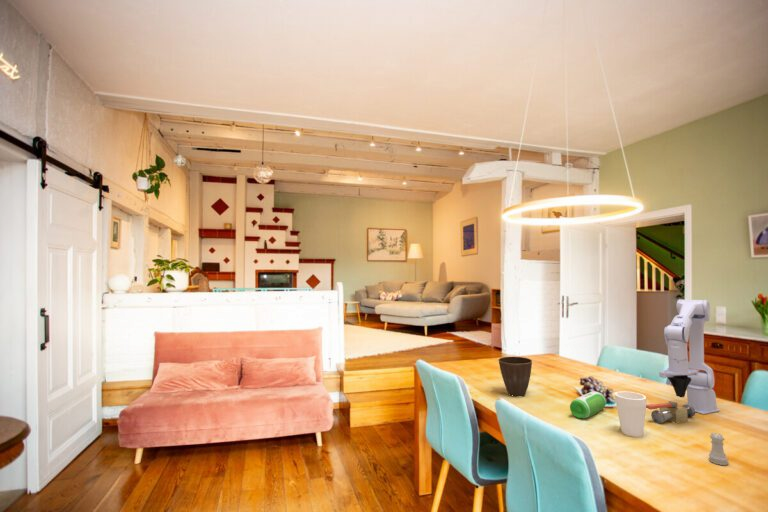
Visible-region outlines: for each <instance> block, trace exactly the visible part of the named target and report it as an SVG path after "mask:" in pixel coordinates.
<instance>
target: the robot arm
mask: <svg viewBox="0 0 768 512" xmlns="http://www.w3.org/2000/svg"><path fill="white" fill-rule="evenodd" d="M676 312H677V313H678V314H677V315H675V316H674V317H673V318H672V321H671V323H670V324H669V325H667V326H665V327H664V330H663V335H664V336H663V337H664V340H665V346H667V360H668V368H667V369H666V370H661V371H659V372H658V377H659V378H662V379H668V380H669V382H670V384H671V385H672V387H673V389H674V392H675V395H676V396H677V397H679V398H685V396H686V398H687V399H686V400H687V404H688V405H691V406H692V407H693V408H694V410H695V413H698V414H701V415H706V414H711V413H716V412H720V409H719V408H717V395H716V392H715V390H714V389H713V388H714V386H715V375H714V370H713V369H712V368H711V366H709V365H708V364H707V363H705V346H704V345H705V336H704V335H705V334H704V332H705V331H704V330H705V329H704V328H705V323H706V322H709V321H710V318H711V306H710V302H709V301H708V300H707V299H704V300H703V299H681V298H680V299H678V300H677V301H676ZM688 342H689V347H688V344H687V343H688ZM688 348H689V352H688ZM688 353H689V354H688ZM688 355H689V357H688Z"/></svg>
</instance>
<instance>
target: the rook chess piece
mask: <svg viewBox="0 0 768 512" xmlns="http://www.w3.org/2000/svg"><path fill="white" fill-rule="evenodd" d="M709 437H710V439H711V441H710V443H711V451H710V453H709V454H708V460H709V461H710V462H711V463H712V462H713V463H712V464H714V463H716V464H715V465H718V464H720V465H719V466H727V465H728V464H729V461H728V460H729V459H728V457H727V456H726V453H725V451H724V443H723V441H724V440H725V438H724V437H723V435H722V433H718V434H717V432H711V433H710V436H709Z"/></svg>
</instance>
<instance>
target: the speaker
mask: <svg viewBox="0 0 768 512" xmlns="http://www.w3.org/2000/svg"><path fill="white" fill-rule="evenodd" d="M606 405H607V398H606V397H605V395H604V394H603V393H601V392H599V391H594V390H593V391H590V392H588V393H585V394H583V395H580V396H578V397H576V398H574V399H573V400H572V401H571V402H570V404H569V411H570V412H571V414H573V416H574V417H576V418H578V419H586V418H590V417H592V416H594V415H596V414H598V413H599V412H600V411H602V410H604V409H605V407H606Z"/></svg>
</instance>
